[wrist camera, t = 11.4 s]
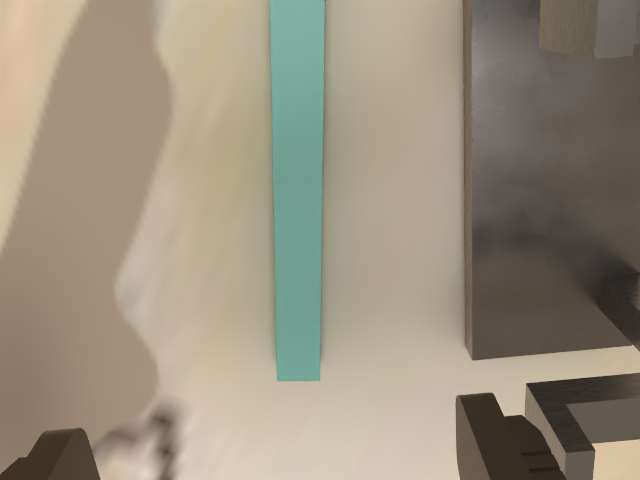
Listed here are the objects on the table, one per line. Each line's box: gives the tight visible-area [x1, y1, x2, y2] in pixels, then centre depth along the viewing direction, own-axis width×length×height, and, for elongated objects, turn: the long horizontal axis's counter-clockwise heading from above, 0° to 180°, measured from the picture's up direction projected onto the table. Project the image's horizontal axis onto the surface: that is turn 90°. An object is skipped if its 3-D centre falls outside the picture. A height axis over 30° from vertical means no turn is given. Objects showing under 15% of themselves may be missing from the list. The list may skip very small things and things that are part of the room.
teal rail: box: [270, 0, 325, 381], centre depth 30 cm, size 2×22×2 cm, turn 0°
